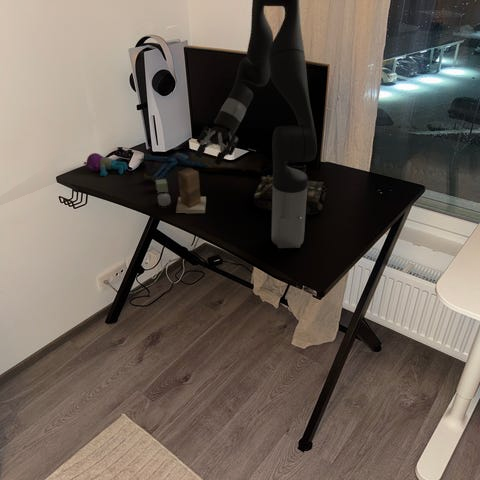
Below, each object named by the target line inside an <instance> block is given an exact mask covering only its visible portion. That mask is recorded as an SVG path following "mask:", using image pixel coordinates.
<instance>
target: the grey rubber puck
mask: <svg viewBox="0 0 480 480" xmlns="http://www.w3.org/2000/svg"><path fill="white" fill-rule="evenodd" d="M157 203H158V204H159V205H161V206H167V205H169V204H170V203H171V195H170V194H169V193H159V194H157ZM171 204H172V203H171ZM159 205H158V206H159Z"/></svg>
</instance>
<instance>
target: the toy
mask: <svg viewBox="0 0 480 480" xmlns="http://www.w3.org/2000/svg"><path fill="white" fill-rule="evenodd" d="M83 164H84V165H85V166H86V167H88V168H89V169H90V170H91V171H93V172H95V171H96V172H98V171H100V176H101V177H102V176H103V177H106V176H107V175H108V171H109V170H118V173H119V175H122V174H123V173H124V171H126V170H127V168H128V164H127V162H125V161H117V160H116V159H113V158H110V157H107V156H104V155H101V154H100V153H97V152H96V153H95V152H94V153H91V154H89V156H87V159H86V161H84V162H83ZM107 170H108V171H107Z"/></svg>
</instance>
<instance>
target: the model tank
mask: <svg viewBox="0 0 480 480" xmlns="http://www.w3.org/2000/svg"><path fill="white" fill-rule="evenodd" d="M293 167H294V168H302V172H304V173H305V174H306V173H307V171H306V169H307V168H306V167H307V166H306V165H305V164H303V166H299V165H291V168H293ZM306 175H307V174H306ZM307 177H308V175H307ZM259 181H260V182H259V185H258V186H257V189H256V191H255V193H254V194H253V202H254V205H255V206H256V207H258V208H260V209H262V210H266V211H267V210H268V211H272V196H273V174H271V175H267V176H263V175H261V176H260V178H259ZM327 190H328V186H327V185H325V183H324V181H316V180H315V181H314V180H308V186H307V200H306V214H305V215H315V214H319V213H318V212H319V211H322V209H323V204H322V203H324V201H325V198H326V194H327Z"/></svg>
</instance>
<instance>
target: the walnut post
mask: <svg viewBox="0 0 480 480" xmlns="http://www.w3.org/2000/svg"><path fill="white" fill-rule="evenodd" d="M199 173H200V172H199V171H198V170H195V169H193V168H190V167H187V168H184V169H182V170H180V171H177V177H178V186H179V195H180V196H179V197H181V204H183V205H185V206H187V207H190V208H191V207H193V206H195V205H197V204H199V203H201V199H200V197H201V189H200V187H201V186H200V175H199Z"/></svg>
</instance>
